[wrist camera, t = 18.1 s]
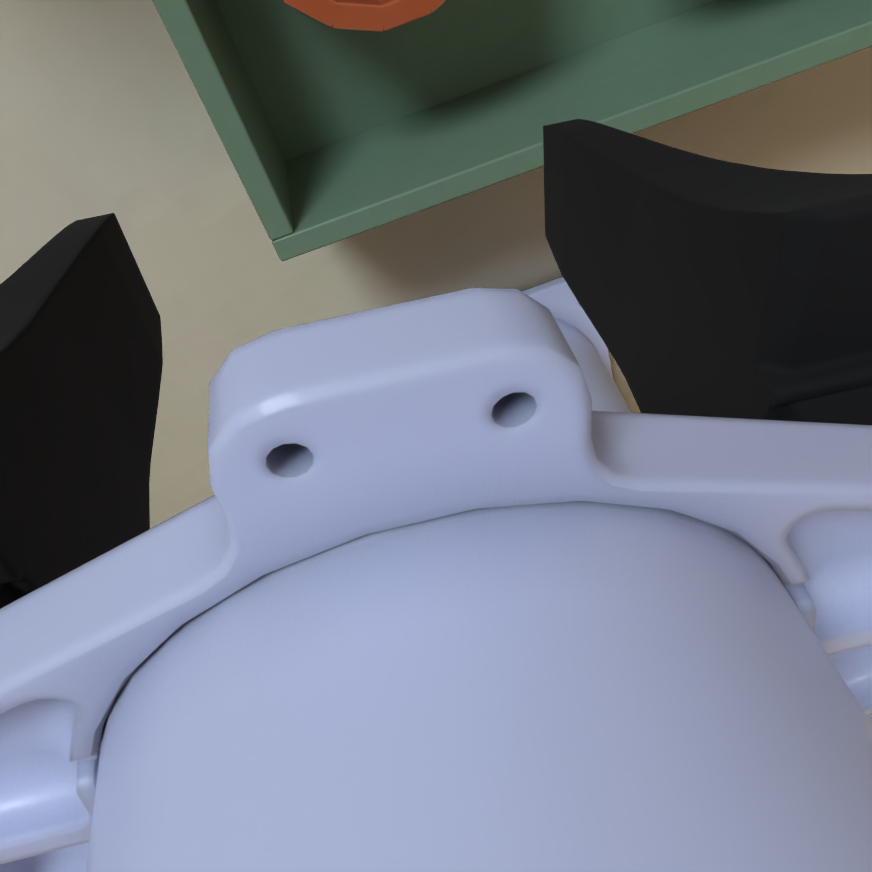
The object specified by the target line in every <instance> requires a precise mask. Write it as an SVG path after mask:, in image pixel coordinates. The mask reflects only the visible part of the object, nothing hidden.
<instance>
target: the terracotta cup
mask: <svg viewBox="0 0 872 872" xmlns="http://www.w3.org/2000/svg"><path fill="white" fill-rule="evenodd" d="M281 1H283V2H284V3H285V4H286V5H288V6H290V7H292V8H294V9H296V10H298V11H300V12H302V13H304V14H306V15H308V16H309V17H311V18H313V19H315V20H317V21H319V22H321V23H323V24H325V25H327V26H329V27H333V28H334V29H347V30H362V31H377V32H383V31H384V30H385V31H388V30H390V29H393V28H395V27H398V26H401V25H403V24H406V23H409V22H411V21H414V20H417V19H419V18H422V17H424V16H427V15H430V14H431V13H432V12H434V11H436V10H437V9H438V8H439V7H440V6H441V5H442V4H443V3H444V2H445V1H446V0H281Z"/></svg>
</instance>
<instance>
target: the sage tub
mask: <svg viewBox="0 0 872 872" xmlns="http://www.w3.org/2000/svg"><path fill="white" fill-rule="evenodd" d="M152 1H153V3H154V5H155V7H156V9H157V11H158V13H159V15H160V17H161V19H162V21H163V23H164V25H165V27H166V29H167V31H168V33H169V35H170V37H171V39H172V41H173V43H174V45H175V47H176V49H177V51H178V53H179V55H180V57H181V59H182V61H183V63H184V65H185V67H186V69H187V71H188V74H189V76H190V78H191V80H192V82H193V84H194V86H195V88H196V90H197V92H198V94H199V96H200V98H201V100H202V102H203V104H204V106H205V108H206V110H207V112H208V114H209V116H210V118H211V120H212V122H213V124H214V126H215V128H216V130H217V132H218V134H219V136H220V138H221V140H222V142H223V144H224V146H225V148H226V151H227V153H228V155H229V157H230V159H231V161H232V163H233V165H234V167H235V169H236V171H237V173H238V175H239V177H240V179H241V181H242V183H243V185H244V187H245V189H246V191H247V193H248V195H249V197H250V199H251V201H252V203H253V205H254V207H255V209H256V211H257V213H258V215H259V217H260V219H261V221H262V223H263V226H264V228H265V230H266V232H267V234H268V236H269V238H270V239H271V240H272V244H273V246H274V248H275V250H276V252H277V254H278V256H279V258H280V259H281V260H282V261H285V260H288V259H290V258H293V257H296V256H299V255H301V254H304V253H307V252H310V251H312V250H315V249H318V248H321V247H323V246H326V245H329V244H331V243H334V242H337V241H340V240H342V239H345V238H348V237H351V236H353V235H356V234H359V233H362V232H364V231H367V230H370V229H373V228H375V227H378V226H381V225H383V224H386V223H389V222H392V221H394V220H397V219H400V218H403V217H405V216H408V215H411V214H414V213H416V212H419V211H422V210H425V209H427V208H430V207H433V206H435V205H438V204H441V203H444V202H446V201H449V200H452V199H455V198H457V197H460V196H463V195H466V194H468V193H471V192H474V191H477V190H479V189H482V188H485V187H487V186H490V185H493V184H496V183H498V182H501V181H504V180H507V179H509V178H512V177H515V176H518V175H520V174H523V173H526V172H529V171H531V170H534V169H537V168H539V167H542V166H544V150H543V126H545V125H550V124H555V123H560V122H565V121H569V120H574V119H584V120H590V121H594V122H597V123H601V124H604V125H607V126H610V127H613V128H616V129H619V130H622V131H625V132H628V133H630V134H632V133H635V132H638V131H641V130H643V129H646V128H649V127H652V126H654V125H657V124H660V123H663V122H665V121H668V120H671V119H674V118H676V117H679V116H682V115H684V114H687V113H690V112H693V111H695V110H698V109H701V108H704V107H706V106H709V105H712V104H715V103H717V102H720V101H723V100H726V99H728V98H731V97H734V96H736V95H739V94H742V93H745V92H747V91H750V90H753V89H756V88H758V87H761V86H764V85H767V84H769V83H772V82H775V81H778V80H780V79H783V78H786V77H788V76H791V75H794V74H797V73H799V72H802V71H805V70H808V69H810V68H813V67H816V66H819V65H821V64H824V63H827V62H830V61H832V60H835V59H838V58H840V57H843V56H846V55H849V54H851V53H854V52H857V51H860V50H862V49H865V48H868V47H871V46H872V0H446V1H445V2H444V3H443V4H442V5H441V6H440V7H439V8H438V9H437V10H436V11H434V12H432V13H431V14H430V15H427V16H424V17H422V18H419V19H417V20H414V21H411V22H409V23H406V24H403V25H401V26H398V27H395V28H393V29H390V30H388V31H385V30H384V31H383V32H377V31H362V30H347V29H334V28H333V27H329V26H327V25H325V24H323V23H321V22H319V21H317V20H315V19H313V18H311V17H309V16H308V15H306V14H304V13H302V12H300V11H298V10H296V9H294V8H292V7H290V6H288V5H286V4H285V3H284V2H283V1H281V0H152Z"/></svg>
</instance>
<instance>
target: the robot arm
mask: <svg viewBox="0 0 872 872" xmlns="http://www.w3.org/2000/svg"><path fill="white" fill-rule="evenodd" d="M543 150H544V194H545V235H546V238H547V240H548V243H549V245H550V248H551V250H552V253H553V255H554V258H555V260H556V262H557V265H558V267H559V269H560V271H561V274H562V276H563V277H561V278H558V279H555V280H552V281H549V282H547V283H544V284H541V285H538V286H535V287H533V288H530V289H527V290H524V291H520V290H518V289H506V288H469V289H464V290H460V291H455V292H450V293H446V294H441V295H437V296H432V297H427V298H423V299H418V300H413V301H409V302H404V303H399V304H395V305H390V306H385V307H381V308H376V309H371V310H367V311H362V312H357V313H353V314H348V315H343V316H339V317H334V318H330V319H325V320H320V321H316V322H311V323H306V324H302V325H297V326H292V327H288V328H283V329H278V330H274V331H272V332H270V333H268V334H266V335H263V336H261V337H259V338H257V339H255V340H253V341H251V342H248V343H246V344H244V345H242V346H240V347H238V348H236V349H233V350H232V351H231V353H230V354H229V355H228V357H227V358H226V360H225V361H224V363H223V364H222V366H221V367H220V368H219V370H218V371H217V373H216V374H215V376H214V377H213V379H212V380H211V382H210V383H209V428H208V457H209V471H210V484H211V488H212V490H213V492H214V494H215V495H213V496H211V497H209V498H207V499H206V500H204V501H202V502H200V503H198V504H196V505H194V506H192V507H191V508H189V509H187V510H185V511H183V512H181V513H179V514H177V515H176V516H174V517H172V518H170V519H168V520H166V521H164V522H162V523H160V524H159V525H157V526H155V527H153V528H151V529H150V516H149V478H150V463H151V455H152V447H153V439H154V431H155V423H156V415H157V408H158V400H159V391H160V383H161V374H162V364H163V360H162V336H161V321H160V315H159V313H158V311H157V308H156V306H155V304H154V302H153V299H152V297H151V295H150V293H149V290H148V288H147V286H146V284H145V281H144V279H143V277H142V275H141V272H140V270H139V268H138V266H137V263H136V261H135V259H134V257H133V254H132V252H131V250H130V248H129V245H128V243H127V241H126V239H125V236H124V234H123V232H122V230H121V227H120V225H119V223H118V221H117V218H116V216H115V214H114V213H111V214H106V215H102V216H97V217H92V218H87V219H82V220H77V221H75V222H73V223H72V224H70V225H68V226H67V227H66V228H64V229H63V230H62V231H61V232H59V233H58V234H57V235H56V236H55V237H53V238H52V239H51V240H50V241H49V242H48V243H47V244H45V245H44V246H43V247H42V248H41V249H40V250H39V251H38V252H37V253H36V254H34V255H33V256H32V257H31V258H30V259H29V260H28V261H27V262H26V263H24V264H23V265H22V266H21V267H20V268H19V269H18V270H17V271H16V272H14V273H13V274H12V275H11V276H10V277H9V278H8V279H6V280H5V281H4V282H3V283H2V284H0V872H872V716H871V713H872V174H823V173H810V172H797V171H784V170H776V169H767V168H761V167H755V166H749V165H743V164H737V163H732V162H726V161H722V160H717V159H713V158H709V157H705V156H701V155H698V154H694V153H690V152H686V151H683V150H679V149H676V148H673V147H669V146H666V145H663V144H660V143H657V142H654V141H651V140H648V139H645V138H642V137H639V136H636V135H633V134H630V133H628V132H625V131H622V130H619V129H616V128H613V127H610V126H607V125H604V124H601V123H597V122H594V121H590V120H584V119H574V120H569V121H565V122H560V123H555V124H550V125H545V126H543ZM608 349H609V350H608ZM609 351H610V352H611V354H612V355H613V357H614V359H615V360H616V362H617V364H618V366H619V368H620V369H621V371H622V373H623V375H624V377H625V379H626V381H627V383H628V385H629V387H630V389H631V392H632V394H633V396H634V398H635V400H636V402H637V404H638V407H639V409H640V411H641V413H632V411H631V410H630V408H629V406H628V404H627V403H626V401H625V399H624V398H623V396H622V394H621V393H620V391H619V389H618V387H617V386H616V384H615V382H614V380H613V374H612V368H611V362H610V356H609Z"/></svg>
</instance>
